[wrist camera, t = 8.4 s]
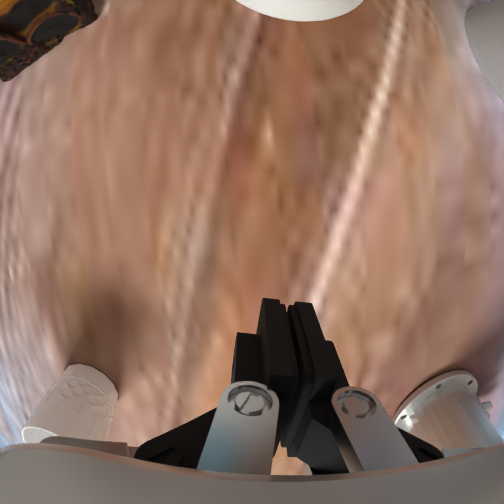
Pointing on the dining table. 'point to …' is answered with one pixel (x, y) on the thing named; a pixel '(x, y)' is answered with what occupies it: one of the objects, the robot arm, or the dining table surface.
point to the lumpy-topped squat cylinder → (488, 41)
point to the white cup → (74, 407)
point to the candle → (37, 29)
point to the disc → (302, 8)
